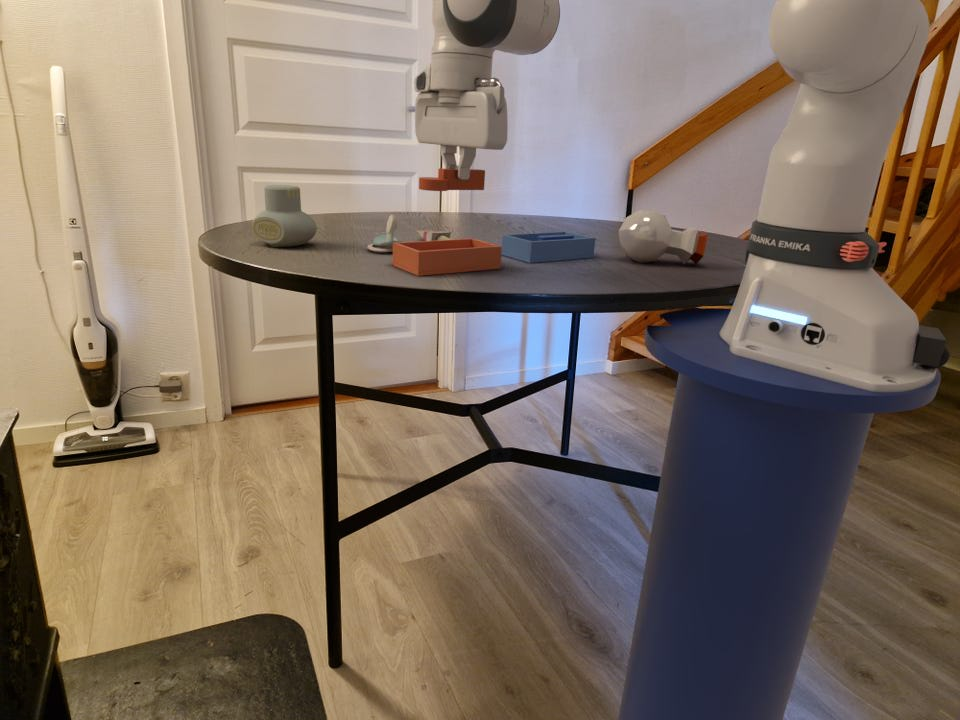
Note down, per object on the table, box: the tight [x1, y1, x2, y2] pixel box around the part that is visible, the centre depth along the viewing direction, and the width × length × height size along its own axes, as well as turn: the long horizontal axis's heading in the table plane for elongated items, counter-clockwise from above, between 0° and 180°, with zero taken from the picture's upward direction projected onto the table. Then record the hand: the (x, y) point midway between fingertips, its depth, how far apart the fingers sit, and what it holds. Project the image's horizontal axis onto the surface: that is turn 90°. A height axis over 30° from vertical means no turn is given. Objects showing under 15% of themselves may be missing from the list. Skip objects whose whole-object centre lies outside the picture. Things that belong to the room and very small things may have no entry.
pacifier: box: [366, 214, 403, 253], centre depth 108 cm, size 7×6×6 cm
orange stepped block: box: [418, 168, 486, 192], centre depth 94 cm, size 11×4×3 cm, turn 124°
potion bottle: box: [618, 208, 709, 266], centre depth 111 cm, size 9×10×15 cm
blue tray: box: [501, 230, 596, 264], centre depth 112 cm, size 8×15×4 cm, turn 125°
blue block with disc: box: [537, 234, 574, 241], centre depth 112 cm, size 11×4×3 cm, turn 125°
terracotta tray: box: [392, 238, 502, 277], centre depth 98 cm, size 8×15×4 cm, turn 125°
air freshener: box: [250, 184, 318, 248], centre depth 108 cm, size 11×8×10 cm
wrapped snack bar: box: [415, 229, 452, 241], centre depth 115 cm, size 4×3×20 cm
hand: (456, 178), depth 94 cm, fingers closed on orange stepped block
